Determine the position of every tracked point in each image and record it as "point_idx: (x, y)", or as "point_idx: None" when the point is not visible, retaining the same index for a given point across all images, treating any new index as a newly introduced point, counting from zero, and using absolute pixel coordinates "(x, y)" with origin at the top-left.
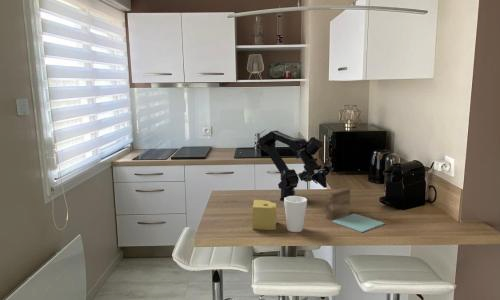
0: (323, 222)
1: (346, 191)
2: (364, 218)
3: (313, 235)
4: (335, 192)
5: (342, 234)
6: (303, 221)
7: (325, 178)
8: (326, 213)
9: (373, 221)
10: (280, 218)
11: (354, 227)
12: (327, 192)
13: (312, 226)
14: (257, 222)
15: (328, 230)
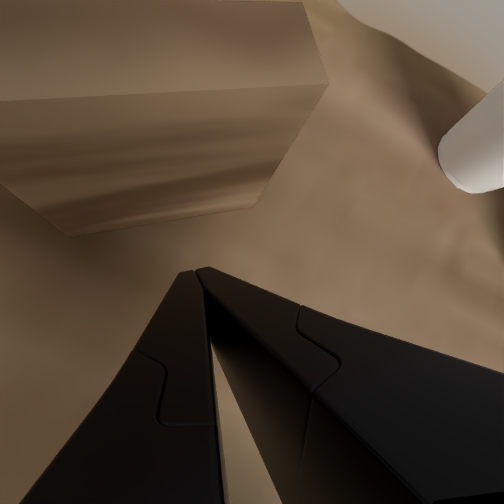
0: (306, 160)
1: (20, 7)
2: None
3: (422, 72)
4: (233, 26)
5: (308, 13)
6: (480, 101)
7: (150, 359)
8: (259, 192)
9: None
10: (487, 320)
11: None
12: (324, 79)
13: (383, 147)
14: None
15: (340, 74)
